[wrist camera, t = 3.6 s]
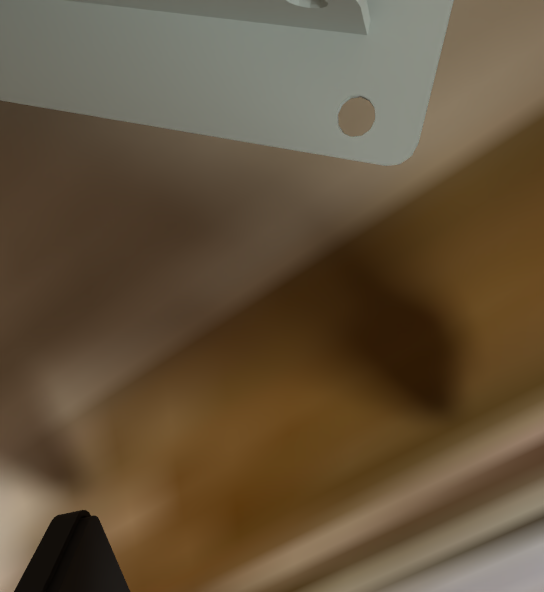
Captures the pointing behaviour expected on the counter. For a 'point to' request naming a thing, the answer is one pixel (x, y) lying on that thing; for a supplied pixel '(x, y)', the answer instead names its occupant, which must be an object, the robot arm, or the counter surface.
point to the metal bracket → (232, 67)
